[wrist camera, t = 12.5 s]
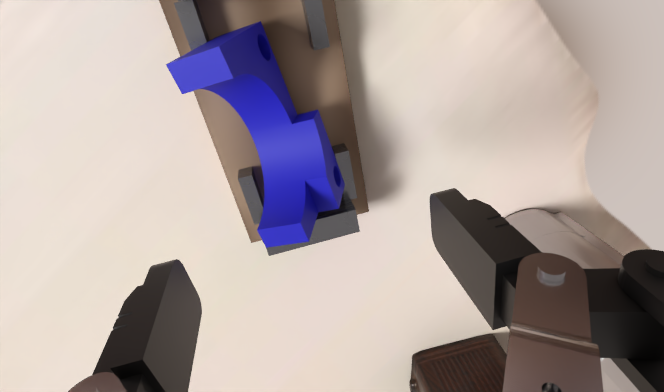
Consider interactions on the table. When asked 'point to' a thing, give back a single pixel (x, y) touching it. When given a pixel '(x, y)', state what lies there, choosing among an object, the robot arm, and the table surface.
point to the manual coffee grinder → (460, 367)
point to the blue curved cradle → (269, 130)
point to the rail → (304, 89)
